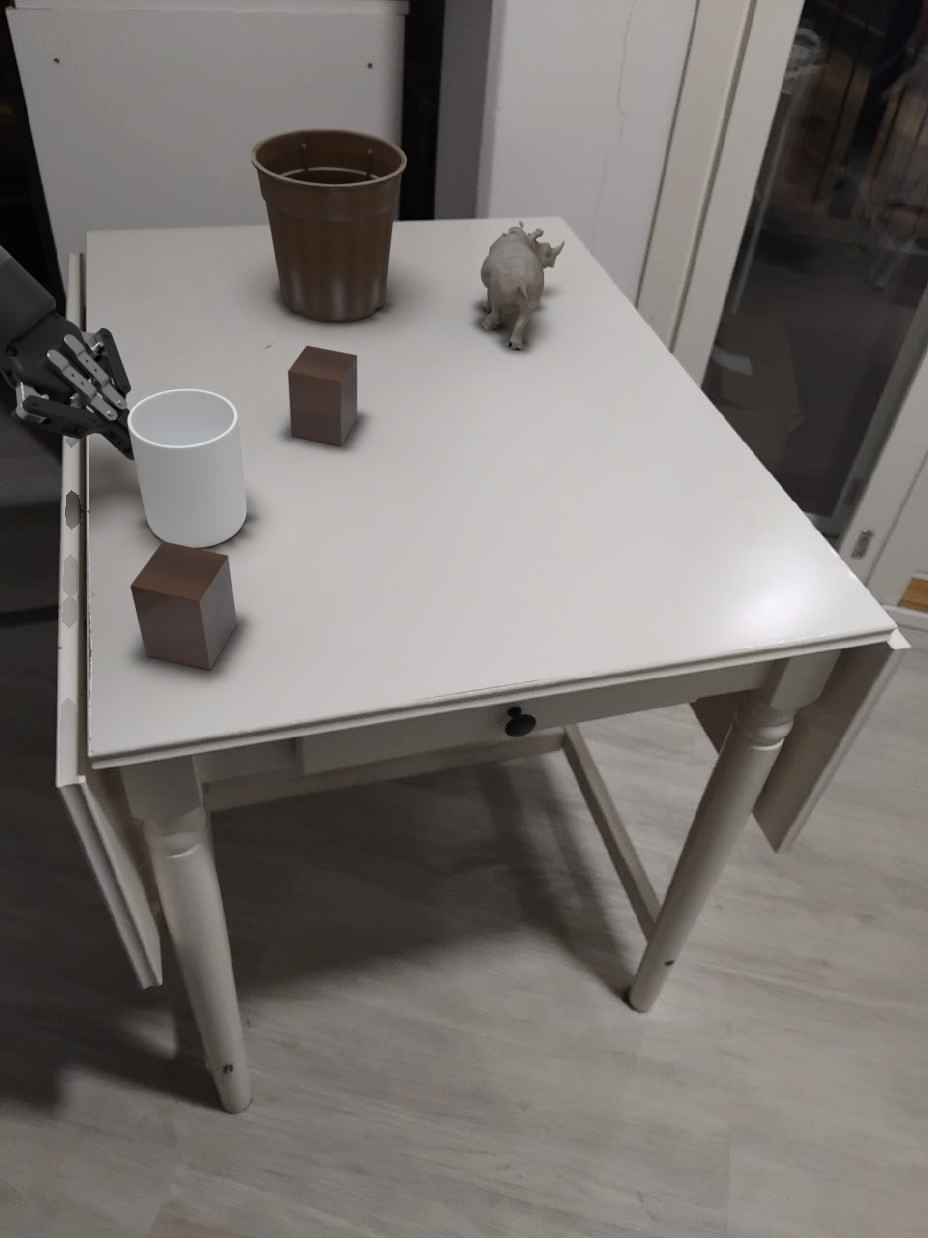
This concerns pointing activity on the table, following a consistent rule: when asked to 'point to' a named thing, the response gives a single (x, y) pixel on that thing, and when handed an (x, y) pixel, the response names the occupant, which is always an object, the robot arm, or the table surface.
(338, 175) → the plant pot
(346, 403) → the block far
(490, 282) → the rhinoceros figurine
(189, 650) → the block near
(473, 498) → the table surface
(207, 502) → the cup
